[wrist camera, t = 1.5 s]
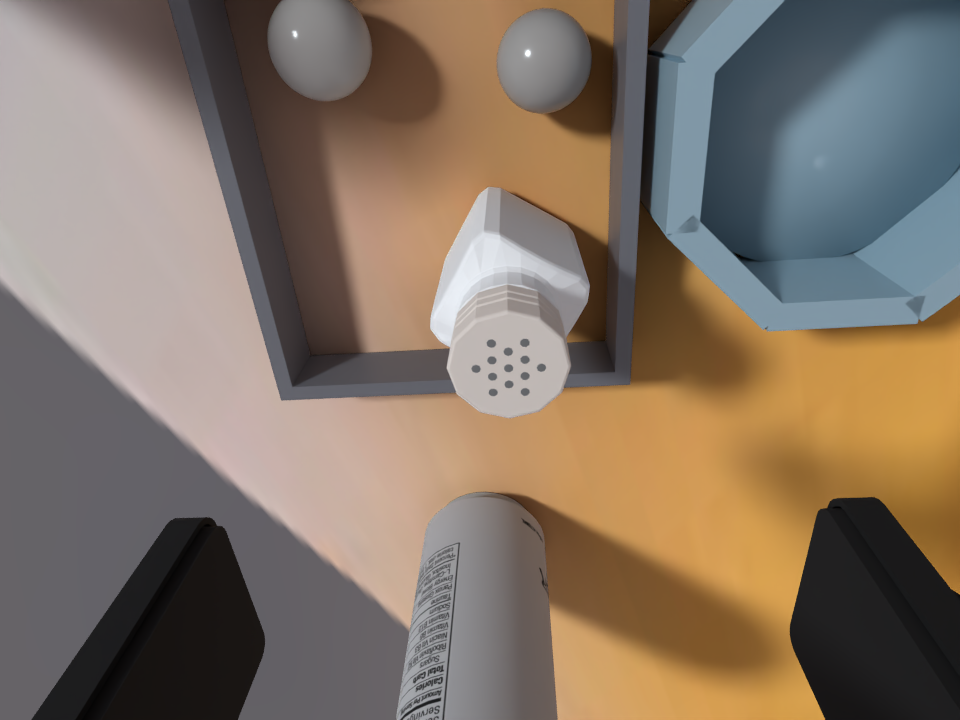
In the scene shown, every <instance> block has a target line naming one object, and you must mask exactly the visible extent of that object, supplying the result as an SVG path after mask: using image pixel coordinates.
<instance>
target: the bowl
mask: <svg viewBox="0 0 960 720" xmlns="http://www.w3.org/2000/svg"><path fill="white" fill-rule="evenodd" d="M649 50H650V52H651V53H652V54H647V65H646V84H645V104H644V123H643V143H642V163H641V182H640V199H641V203H642V204H643V205H644V207H645V208H646V209H647V211H648V212H649V214H650V215H651V216H652V218H653V219H654V220H655V222H656V223H657V225H658V226H659V227H660V229H661V230H662V231H663V233H664V234H665V236H666V237H667V238H668V239H669V240H670V241H671V242H672V243H673V244H674V245H675V246H676V247H677V248H678V249H679V250H680V251H681V252H682V253H683V254H684V255H685V256H686V257H687V258H689V259H690V260H691V261H692V262H693V263H694V264H695V265H696V266H697V267H698V268H699V269H700V270H701V271H702V272H703V273H704V274H705V275H706V276H707V277H708V278H709V279H710V280H712V281H713V282H714V283H715V284H716V285H717V286H718V287H719V288H720V289H721V290H722V291H723V292H724V293H725V294H726V295H727V296H728V297H729V298H730V299H731V300H732V301H733V302H735V303H736V304H737V305H738V306H739V307H740V308H741V309H742V310H743V311H744V312H745V313H746V314H747V315H748V316H749V317H750V318H751V319H752V320H753V321H754V322H755V323H756V324H758V325H759V326H760V327H761V328H762V329H763V330H764V329H766V330H767V331H784V330H803V329H823V328H843V327H863V326H882V325H902V324H917V323H918V319H919V320H920V321H922V322H923V321H924V320H926V319H927V318H928V317H930V316H931V315H933V314H934V313H935V312H937V311H938V310H940V309H941V308H942V307H944V306H945V305H946V304H948V303H949V302H951V301H952V300H953V299H955V298H956V297H958V296H959V295H960V0H692V1H691V2H690V3H689V4H688V5H687V7H686V8H685V9H684V10H683V11H682V12H681V13H680V14H679V16H678V17H677V18H676V19H675V20H674V21H673V22H672V23H671V24H670V26H669V27H668V28H667V29H666V30H665V31H664V32H663V33H662V35H661V36H660V37H659V38H658V39H657V40H656V41H655V42H654V44H653V45H652V46H651V47H650V48H649ZM733 252H734V253H736V254H739V255H741V256H743V257H737V256H736V255H735V254H734V253H733Z"/></svg>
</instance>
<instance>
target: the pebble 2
mask: <svg viewBox="0 0 960 720" xmlns="http://www.w3.org/2000/svg"><path fill="white" fill-rule="evenodd" d="M591 65H592V52H591V46H590V42H589V39H588V37H587V35H586V32H585V31H584V29H583V28H582V26H581V25H580V24H579V23H578V22H577V21H576V20H575V19H574V18H573V17H572V16H570V15H569V14H567V13H565V12H563V11H560V10H557V9H552V8H541V9H535V10H532V11H529V12H527V13H525V14H523V15H522V16H520V17H519V18H518V19H516V20H515V21H514V22H513V23H512V24H511V25H510V27H509V28H508V29H507V31H506V32H505V34H504V36H503V38H502V40H501V42H500V45H499V49H498V53H497V73H498V78H499V81H500V84H501V86H502V88H503V90H504V92H505V93H506V95H507V96H508V97H509V99H510V100H511V101H512V102H513V103H515V104H516V105H517V106H519V107H520V108H522V109H524V110H526V111H529V112H532V113H539V114H546V113H552V112H555V111H558V110H560V109H563V108H564V107H566V106H568V105H569V104H570V103H572V102H573V101H574V100H575V99H576V98H577V97H578V96H579V94H580V93H581V92H582V90H583V89H584V87H585V85H586V83H587V81H588V78H589V75H590V71H591Z"/></svg>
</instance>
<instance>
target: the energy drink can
mask: <svg viewBox="0 0 960 720" xmlns="http://www.w3.org/2000/svg"><path fill="white" fill-rule="evenodd" d="M396 720H558V719H557V705H556V691H555V678H554V664H553V650H552V636H551V622H550V609H549V595H548V581H547V567H546V553H545V540H544V534H543V531H542V528H541V526H540V525H539V523H538V521H537V520H536V519H535V518H534V517H533V516H532V515H531V514H530V513H529V512H528V511H527V510H526V509H525V508H524V507H523V506H522V505H521V504H519V503H518V502H516V501H515V500H513V499H511V498H509V497H507V496H504V495H501V494H497V493H490V492H476V493H471V494H466V495H464V496H461V497H458V498H457V499H455V500H453V501H451V502H450V503H449V504H448V505H447V506H446V507H444V508H443V509H441V510H440V511H439V512H438V513H437V514H435V515H434V517H433V518H432V519H431V521H430V522H429V524H428V526H427V529H426V532H425V538H424V545H423V551H422V557H421V564H420V570H419V576H418V583H417V589H416V595H415V602H414V608H413V615H412V621H411V627H410V634H409V640H408V646H407V653H406V659H405V665H404V672H403V678H402V684H401V691H400V697H399V704H398V710H397V716H396Z"/></svg>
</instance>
